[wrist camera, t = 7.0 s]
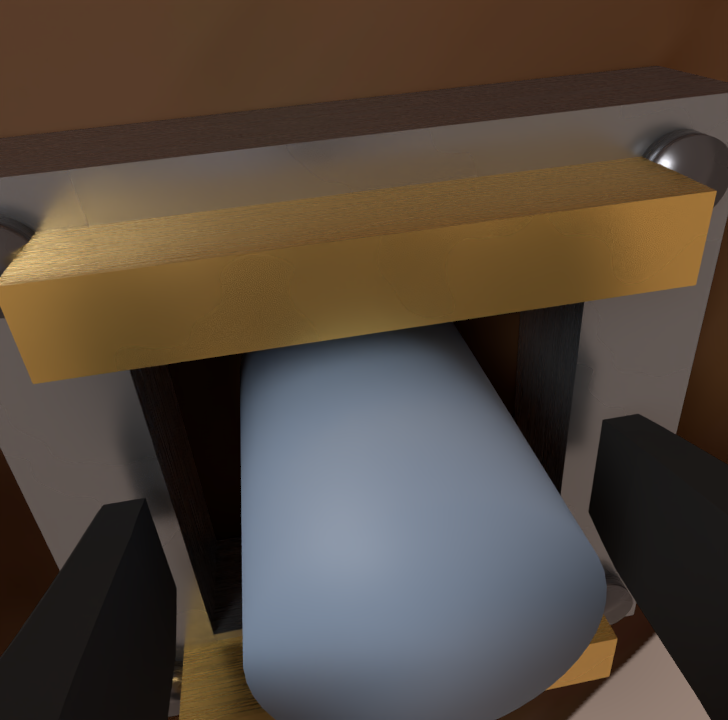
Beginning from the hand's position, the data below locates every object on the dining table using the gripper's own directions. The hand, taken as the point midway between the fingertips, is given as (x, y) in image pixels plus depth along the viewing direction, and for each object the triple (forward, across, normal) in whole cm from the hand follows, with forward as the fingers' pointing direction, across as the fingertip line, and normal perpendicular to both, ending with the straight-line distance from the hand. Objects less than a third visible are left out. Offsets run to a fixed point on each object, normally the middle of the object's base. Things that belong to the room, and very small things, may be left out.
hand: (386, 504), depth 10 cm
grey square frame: (+3, 0, 0) cm, 3 cm away
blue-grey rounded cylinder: (+3, 0, 0) cm, 3 cm away
